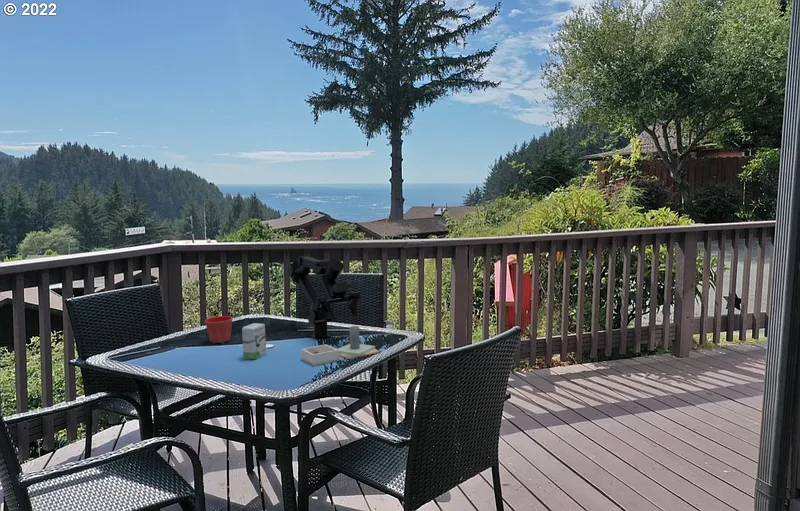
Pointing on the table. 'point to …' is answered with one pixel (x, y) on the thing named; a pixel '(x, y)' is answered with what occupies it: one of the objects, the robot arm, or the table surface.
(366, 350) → the lid
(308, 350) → the storage box
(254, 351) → the ink box
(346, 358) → the tan wooden square board
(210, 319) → the flower pot
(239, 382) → the table surface
